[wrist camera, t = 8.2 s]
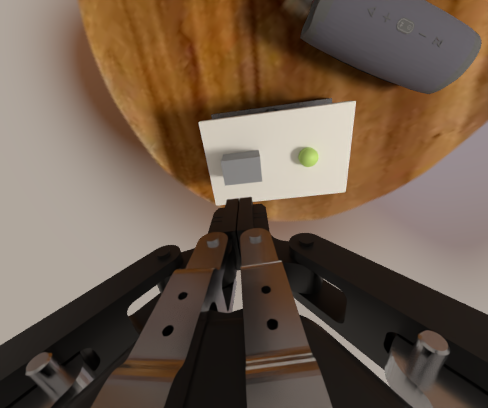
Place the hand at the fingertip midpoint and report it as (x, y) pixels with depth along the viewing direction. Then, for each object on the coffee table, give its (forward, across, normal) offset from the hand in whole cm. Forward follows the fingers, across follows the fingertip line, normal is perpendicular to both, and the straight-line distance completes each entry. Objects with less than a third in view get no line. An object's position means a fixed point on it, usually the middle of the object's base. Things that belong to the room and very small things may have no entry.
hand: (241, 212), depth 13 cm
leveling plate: (+26, -5, +4) cm, 27 cm away
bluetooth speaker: (+33, -22, -12) cm, 42 cm away
